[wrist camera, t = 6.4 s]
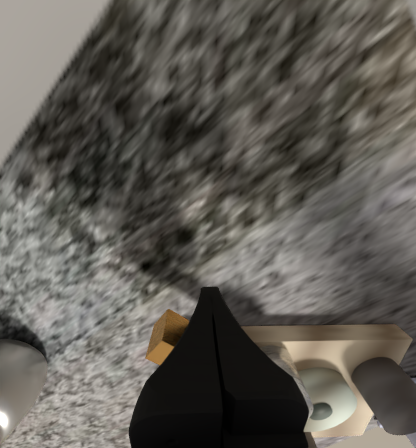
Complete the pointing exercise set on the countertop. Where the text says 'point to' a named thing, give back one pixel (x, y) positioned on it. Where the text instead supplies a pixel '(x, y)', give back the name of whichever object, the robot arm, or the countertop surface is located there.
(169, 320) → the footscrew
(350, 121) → the countertop surface
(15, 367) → the plastic bottle
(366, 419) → the base
